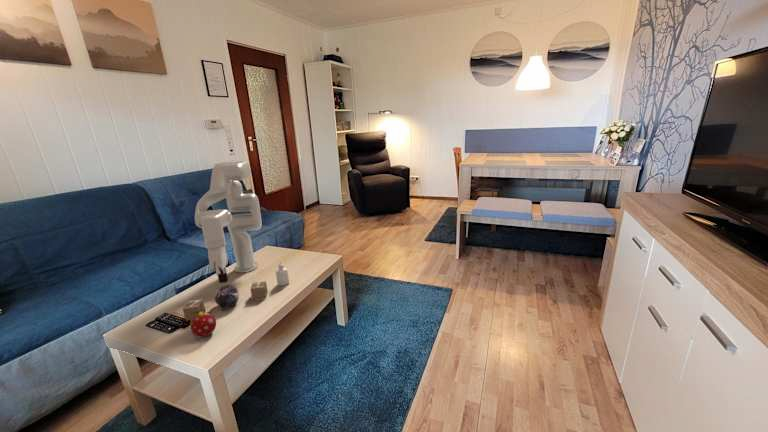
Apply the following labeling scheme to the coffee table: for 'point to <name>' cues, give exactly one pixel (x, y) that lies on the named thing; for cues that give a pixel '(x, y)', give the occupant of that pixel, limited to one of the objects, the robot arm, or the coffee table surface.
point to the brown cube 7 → (193, 309)
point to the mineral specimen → (227, 296)
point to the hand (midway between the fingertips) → (223, 281)
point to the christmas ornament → (203, 324)
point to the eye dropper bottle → (282, 275)
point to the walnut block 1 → (259, 290)
